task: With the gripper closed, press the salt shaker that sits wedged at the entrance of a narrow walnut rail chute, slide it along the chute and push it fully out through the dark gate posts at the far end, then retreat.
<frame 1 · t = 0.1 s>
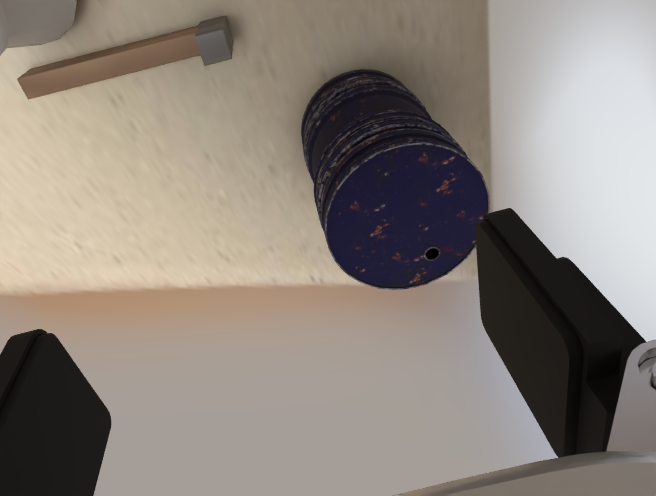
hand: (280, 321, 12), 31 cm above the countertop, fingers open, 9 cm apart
dark blue cylinder: (360, 129, 43), on the countertop
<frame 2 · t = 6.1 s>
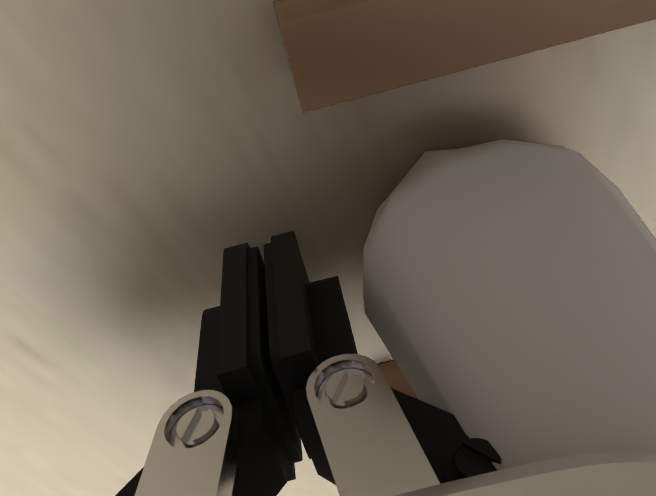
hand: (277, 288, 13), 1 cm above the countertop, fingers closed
chute: (605, 177, 13), on the countertop
salt shaker: (454, 213, 13), on the countertop, touching gripper
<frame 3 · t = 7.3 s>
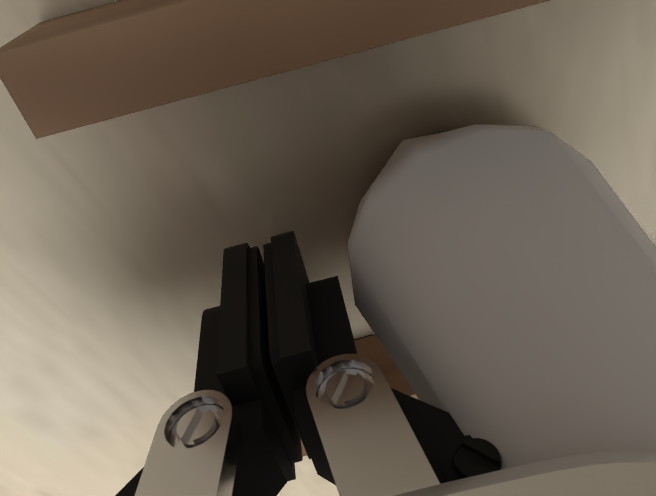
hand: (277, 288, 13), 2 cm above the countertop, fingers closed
chute: (425, 190, 13), on the countertop
salt shaker: (437, 197, 14), on the countertop, touching gripper
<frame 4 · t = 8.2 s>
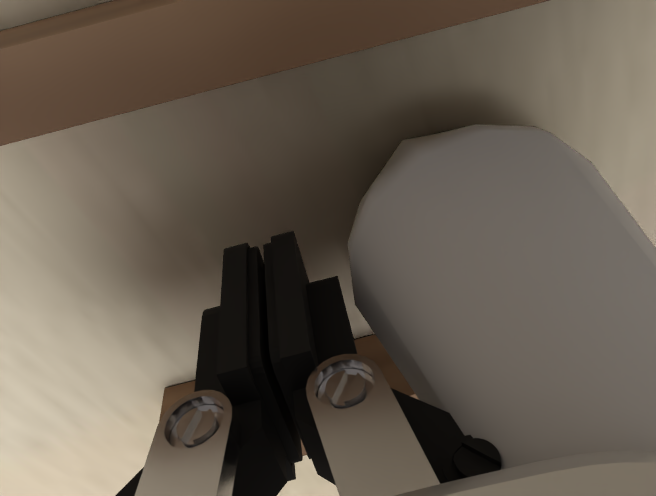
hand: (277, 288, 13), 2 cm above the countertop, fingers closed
chute: (359, 207, 13), on the countertop
salt shaker: (437, 197, 14), on the countertop, touching gripper
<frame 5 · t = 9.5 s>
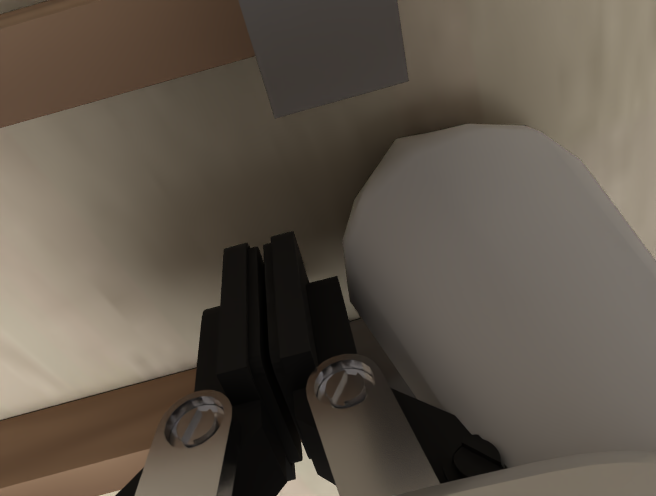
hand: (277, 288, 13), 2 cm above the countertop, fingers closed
chute: (110, 259, 14), on the countertop
salt shaker: (430, 195, 14), on the countertop, touching gripper
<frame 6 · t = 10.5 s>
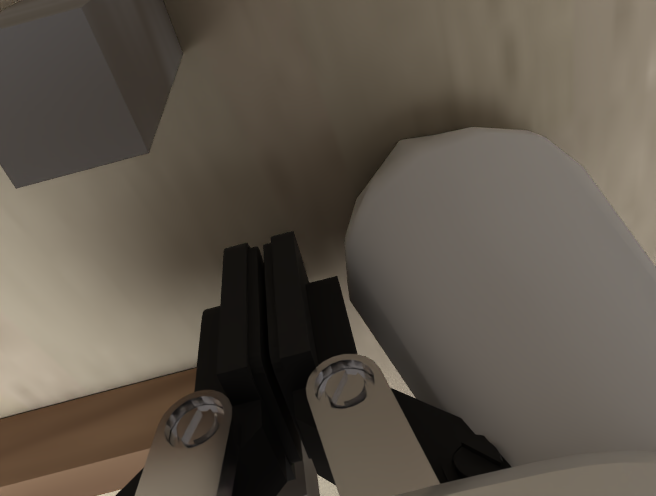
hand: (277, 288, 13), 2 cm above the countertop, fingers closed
salt shaker: (431, 198, 14), on the countertop, touching gripper
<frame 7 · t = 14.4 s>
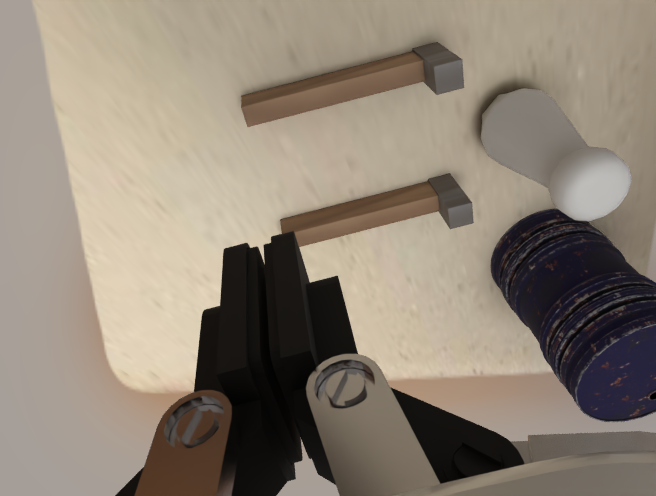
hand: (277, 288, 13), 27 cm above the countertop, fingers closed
chute: (353, 147, 40), on the countertop
salt shaker: (506, 116, 41), on the countertop
dark blue cylinder: (540, 253, 48), on the countertop
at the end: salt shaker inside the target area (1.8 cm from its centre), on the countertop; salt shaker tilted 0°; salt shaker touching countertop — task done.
